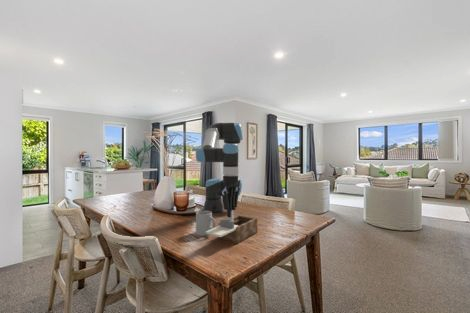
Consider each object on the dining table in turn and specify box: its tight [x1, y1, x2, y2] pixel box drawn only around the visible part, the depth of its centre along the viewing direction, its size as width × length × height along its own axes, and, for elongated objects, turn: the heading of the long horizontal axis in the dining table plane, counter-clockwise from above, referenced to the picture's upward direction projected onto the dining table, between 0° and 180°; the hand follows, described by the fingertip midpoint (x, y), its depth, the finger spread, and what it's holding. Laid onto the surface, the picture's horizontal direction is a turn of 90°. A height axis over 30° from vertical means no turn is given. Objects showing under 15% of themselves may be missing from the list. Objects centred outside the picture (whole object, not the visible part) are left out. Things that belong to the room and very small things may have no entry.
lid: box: [206, 218, 238, 238], centre depth 107 cm, size 16×9×4 cm, turn 145°
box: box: [218, 214, 258, 244], centre depth 118 cm, size 18×12×8 cm, turn 145°
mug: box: [195, 210, 217, 237], centre depth 120 cm, size 12×8×11 cm
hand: (230, 223), depth 112 cm, fingers closed
